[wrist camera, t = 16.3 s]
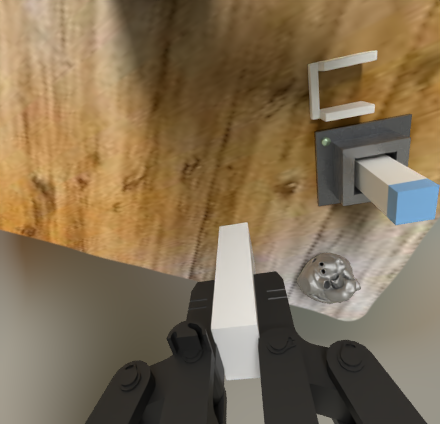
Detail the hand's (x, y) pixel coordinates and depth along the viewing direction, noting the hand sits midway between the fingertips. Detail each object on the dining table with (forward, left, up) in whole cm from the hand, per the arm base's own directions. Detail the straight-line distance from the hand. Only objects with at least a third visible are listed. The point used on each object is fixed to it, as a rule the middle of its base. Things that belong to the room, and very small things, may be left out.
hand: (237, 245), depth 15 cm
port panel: (+8, +18, -29) cm, 35 cm away
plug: (+8, +18, -29) cm, 35 cm away
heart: (+26, +11, -30) cm, 41 cm away
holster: (-3, +15, -29) cm, 33 cm away
